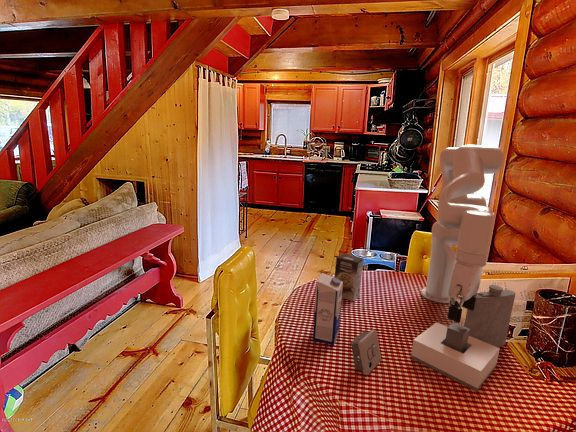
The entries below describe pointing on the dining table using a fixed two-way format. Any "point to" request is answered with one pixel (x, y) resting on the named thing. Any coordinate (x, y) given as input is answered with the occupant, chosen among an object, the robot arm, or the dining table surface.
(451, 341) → the plug
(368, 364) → the electrical switch
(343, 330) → the dining table surface
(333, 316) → the milk carton
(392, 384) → the dining table surface
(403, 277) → the dining table surface
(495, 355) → the socket
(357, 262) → the coffee box
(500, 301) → the hip flask
